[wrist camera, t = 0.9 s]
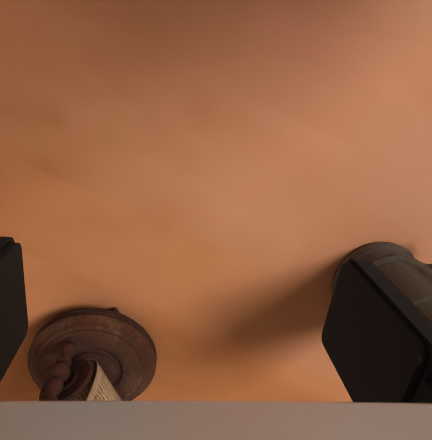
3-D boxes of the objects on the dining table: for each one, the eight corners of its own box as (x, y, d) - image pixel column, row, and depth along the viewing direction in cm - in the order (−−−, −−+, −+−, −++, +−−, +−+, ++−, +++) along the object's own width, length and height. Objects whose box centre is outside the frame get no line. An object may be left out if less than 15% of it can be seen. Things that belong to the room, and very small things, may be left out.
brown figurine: (174, 371, 48) (173, 557, 30) (72, 406, 49) (10, 610, 31) (126, 283, 43) (88, 450, 24) (11, 325, 43) (-111, 517, 25)
